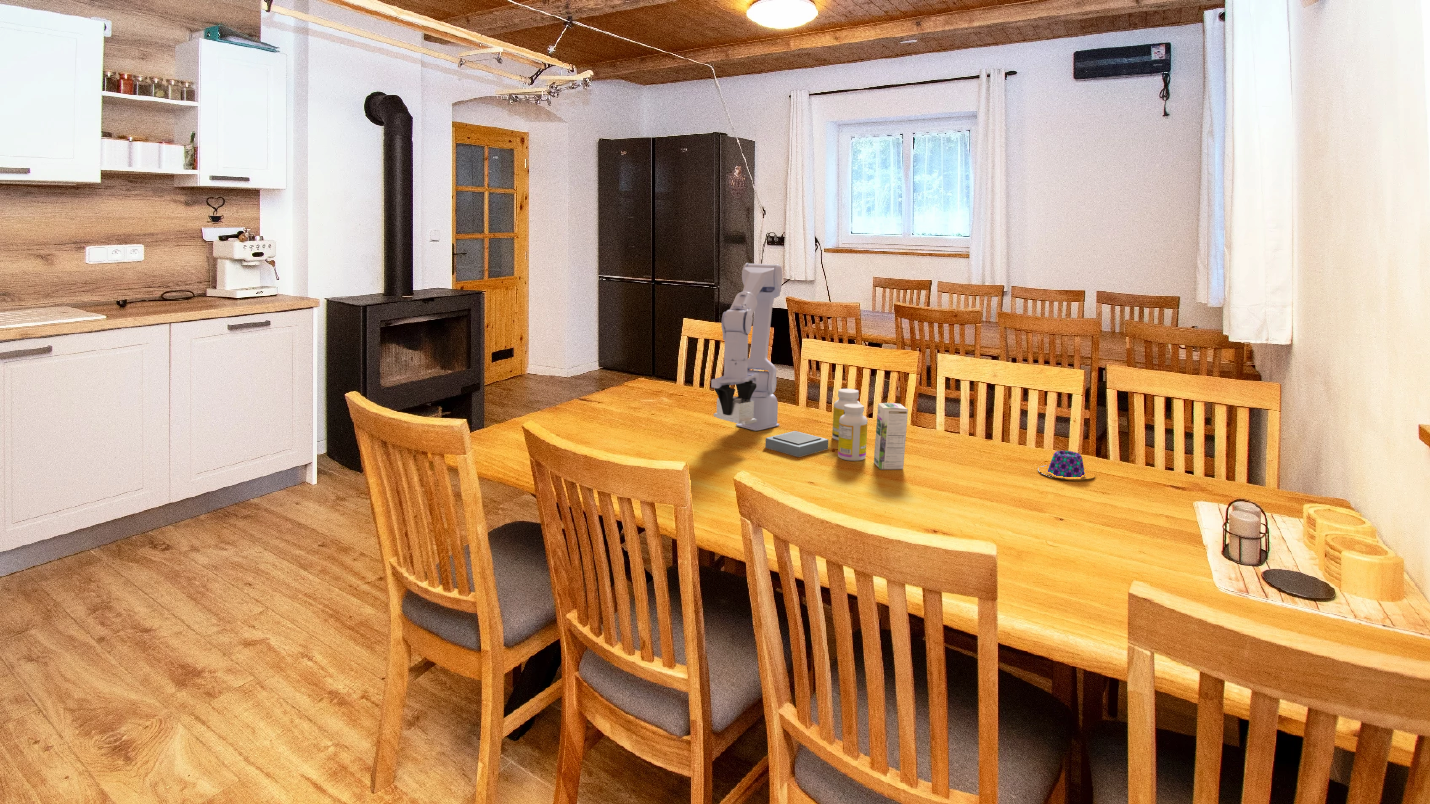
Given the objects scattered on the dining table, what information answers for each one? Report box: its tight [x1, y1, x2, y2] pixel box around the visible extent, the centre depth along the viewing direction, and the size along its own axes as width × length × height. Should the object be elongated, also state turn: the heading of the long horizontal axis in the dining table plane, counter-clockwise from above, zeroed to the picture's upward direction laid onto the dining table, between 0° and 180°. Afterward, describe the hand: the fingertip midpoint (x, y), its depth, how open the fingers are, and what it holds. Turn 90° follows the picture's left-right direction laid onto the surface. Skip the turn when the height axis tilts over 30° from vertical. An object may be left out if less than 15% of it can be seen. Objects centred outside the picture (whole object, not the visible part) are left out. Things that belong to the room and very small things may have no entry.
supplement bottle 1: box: [831, 388, 862, 441], centre depth 217 cm, size 7×7×13 cm
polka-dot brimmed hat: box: [1037, 450, 1085, 478], centre depth 191 cm, size 12×12×5 cm
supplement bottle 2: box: [837, 404, 868, 462], centre depth 200 cm, size 7×7×13 cm
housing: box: [713, 395, 757, 425], centre depth 209 cm, size 5×11×6 cm, turn 43°
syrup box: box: [873, 402, 909, 470], centre depth 194 cm, size 6×6×14 cm
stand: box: [764, 430, 829, 458], centre depth 209 cm, size 11×11×3 cm
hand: (734, 412), depth 209 cm, fingers closed on housing, 5 cm apart
